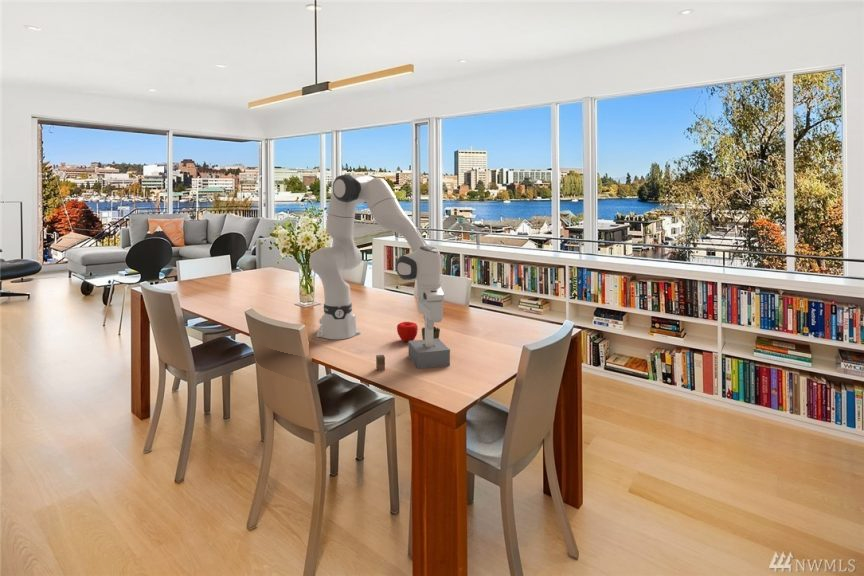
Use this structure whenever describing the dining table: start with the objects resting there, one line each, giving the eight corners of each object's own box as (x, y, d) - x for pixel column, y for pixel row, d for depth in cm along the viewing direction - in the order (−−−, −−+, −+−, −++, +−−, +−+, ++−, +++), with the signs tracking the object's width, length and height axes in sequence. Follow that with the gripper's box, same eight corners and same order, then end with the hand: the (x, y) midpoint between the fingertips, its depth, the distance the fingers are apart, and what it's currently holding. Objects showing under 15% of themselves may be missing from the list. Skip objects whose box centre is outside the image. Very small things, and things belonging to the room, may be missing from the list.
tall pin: (424, 346, 177) (424, 315, 175) (431, 346, 178) (431, 315, 176) (426, 348, 175) (426, 317, 173) (433, 348, 176) (433, 317, 173)
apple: (394, 338, 203) (394, 321, 202) (414, 336, 206) (414, 319, 204) (399, 345, 195) (399, 326, 193) (420, 343, 198) (420, 325, 196)
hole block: (408, 355, 183) (408, 340, 181) (438, 352, 186) (438, 338, 185) (418, 368, 169) (418, 352, 168) (449, 365, 173) (450, 349, 172)
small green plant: (423, 351, 188) (424, 332, 186) (419, 345, 195) (419, 326, 193) (441, 349, 190) (442, 330, 188) (436, 344, 197) (437, 325, 195)
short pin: (376, 368, 169) (376, 355, 168) (383, 367, 170) (383, 354, 169) (377, 371, 167) (377, 357, 166) (384, 370, 168) (384, 357, 167)
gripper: (413, 286, 181) (413, 321, 184) (428, 297, 162) (428, 336, 165) (429, 285, 183) (429, 319, 186) (446, 296, 164) (445, 334, 167)
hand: (429, 327), depth 175 cm, fingers closed on tall pin, 3 cm apart
